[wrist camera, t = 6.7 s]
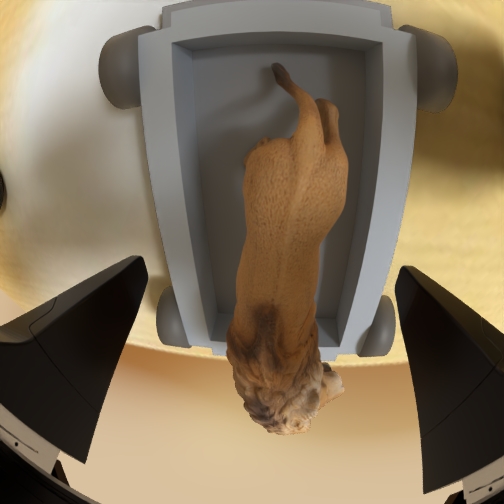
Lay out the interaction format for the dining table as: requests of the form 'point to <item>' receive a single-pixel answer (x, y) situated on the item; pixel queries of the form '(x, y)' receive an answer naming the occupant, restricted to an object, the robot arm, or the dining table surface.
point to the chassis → (275, 126)
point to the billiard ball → (1, 192)
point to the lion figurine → (287, 267)
